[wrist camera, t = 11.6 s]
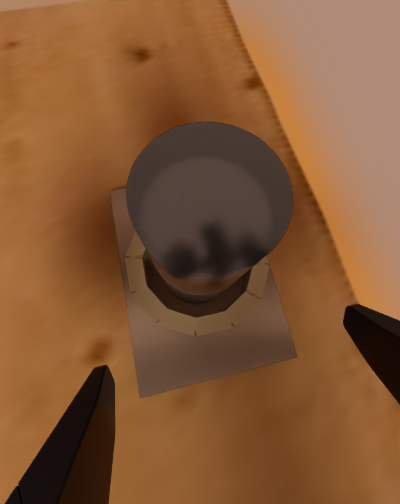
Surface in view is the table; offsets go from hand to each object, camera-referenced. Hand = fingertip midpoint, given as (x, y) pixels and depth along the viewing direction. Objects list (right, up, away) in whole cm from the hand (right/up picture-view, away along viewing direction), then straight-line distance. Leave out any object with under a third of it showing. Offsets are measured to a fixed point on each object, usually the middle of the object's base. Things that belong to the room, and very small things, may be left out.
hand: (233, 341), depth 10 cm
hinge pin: (-2, +2, +8) cm, 9 cm away
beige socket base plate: (-2, +2, +9) cm, 9 cm away
